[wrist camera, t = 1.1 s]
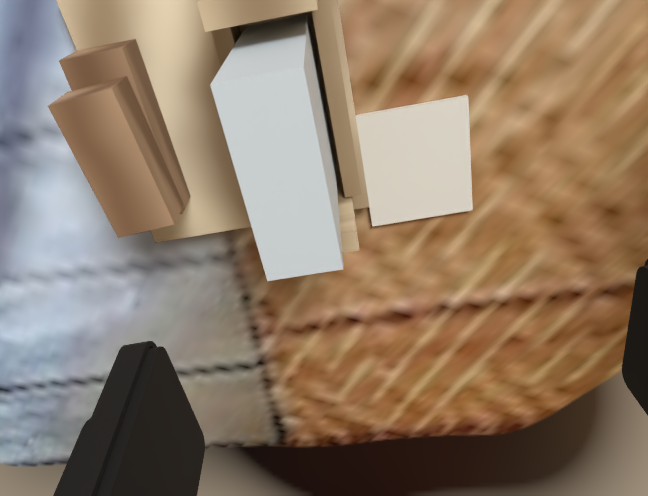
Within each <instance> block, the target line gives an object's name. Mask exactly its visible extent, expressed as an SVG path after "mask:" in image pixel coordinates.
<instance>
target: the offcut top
mask: <svg viewBox="0 0 648 496" xmlns="http://www.w3.org/2000/svg"><path fill="white" fill-rule="evenodd" d="M48 107H49V109H50V111H51V113H52V115H53V117H54V119H55V120H56V122H57V124H58V126H59V128H60V130H61V132H62V133H63V135H64V137H65V139H66V141H67V143H68V145H69V147H70V148H71V150H72V152H73V154H74V156H75V158H76V160H77V161H78V163H79V165H80V167H81V169H82V171H83V173H84V175H85V176H86V178H87V180H88V182H89V184H90V186H91V188H92V189H93V191H94V193H95V195H96V197H97V199H98V201H99V203H100V204H101V206H102V208H103V210H104V212H105V214H106V216H107V217H108V219H109V221H110V223H111V225H112V227H113V229H114V231H115V232H116V234H117V236H118V238H120V237H124V236H128V235H132V234H136V233H141V232H145V231H149V230H153V229H158V228H162V227H166V226H170V225H174V224H175V223H176V220H177V218H178V216H179V214H180V212H181V209H182V207H183V205H184V204H183V202H182V199H181V197H180V195H179V193H178V190H177V188H176V186H175V184H174V181H173V179H172V177H171V174H170V172H169V170H168V168H167V165H166V163H165V161H164V159H163V156H162V154H161V152H160V150H159V147H158V145H157V143H156V141H155V138H154V136H153V134H152V132H151V129H150V127H149V125H148V123H147V120H146V118H145V116H144V114H143V111H142V109H141V107H140V104H139V102H138V100H137V98H136V95H135V93H134V91H133V89H132V86H131V84H130V82H129V80H128V77H127V76H124V77H121V78H117V79H113V80H110V81H106V82H103V83H99V84H95V85H92V86H88V87H84V88H81V89H77V90H74V91H70V92H67V93H66V94H64V95H63V96H61V97H60V98H59V99H57V100H56V101H54V102H53V103H52V104H50V105H49V106H48Z"/></svg>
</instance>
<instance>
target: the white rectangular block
mask: <svg viewBox="0 0 648 496" xmlns="http://www.w3.org/2000/svg"><path fill="white" fill-rule="evenodd" d="M210 86H211V90H212V93H213V96H214V100H215V103H216V107H217V110H218V114H219V117H220V120H221V124H222V127H223V131H224V134H225V138H226V141H227V144H228V148H229V151H230V155H231V158H232V162H233V165H234V168H235V172H236V175H237V179H238V182H239V186H240V189H241V192H242V196H243V199H244V203H245V206H246V210H247V213H248V216H249V220H250V223H251V227H252V230H253V233H254V237H255V240H256V244H257V247H258V251H259V254H260V257H261V261H262V264H263V268H264V271H265V275H266V278H267V281H272V280H278V279H285V278H291V277H297V276H304V275H310V274H316V273H323V272H329V271H335V270H342V269H343V258H342V246H341V233H340V220H339V208H338V195H337V182H336V169H335V161H334V155H333V150H332V144H331V139H330V133H329V128H328V123H327V117H326V112H325V106H324V101H323V95H322V90H321V84H320V79H319V74H318V68H317V63H316V57H315V52H314V46H313V41H312V35H311V30H310V24H309V19H308V14H307V15H302V16H297V17H292V18H287V19H282V20H277V21H272V22H267V23H262V24H257V25H252V26H247V27H245V29H244V31H243V32H242V34H241V36H240V37H239V39H238V40H237V42H236V44H235V45H234V47H233V49H232V50H231V52H230V53H229V55H228V57H227V58H226V60H225V61H224V63H223V65H222V66H221V68H220V70H219V71H218V73H217V74H216V76H215V78H214V79H213V81H212V83H211V84H210Z"/></svg>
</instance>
